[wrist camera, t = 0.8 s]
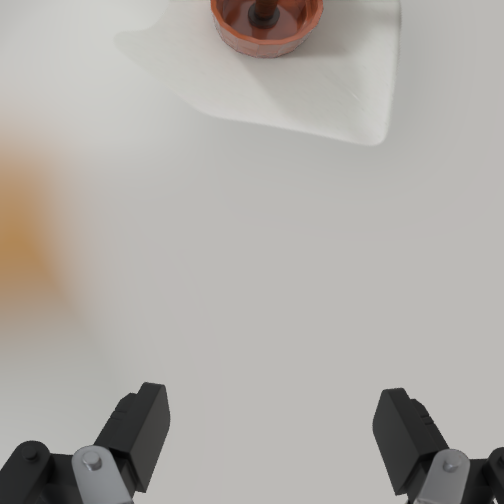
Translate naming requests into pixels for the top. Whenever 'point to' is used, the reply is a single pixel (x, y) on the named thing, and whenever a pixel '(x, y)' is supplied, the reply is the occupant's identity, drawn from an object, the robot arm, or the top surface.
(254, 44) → the bowl
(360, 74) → the top surface
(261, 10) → the brown wooden pestle
